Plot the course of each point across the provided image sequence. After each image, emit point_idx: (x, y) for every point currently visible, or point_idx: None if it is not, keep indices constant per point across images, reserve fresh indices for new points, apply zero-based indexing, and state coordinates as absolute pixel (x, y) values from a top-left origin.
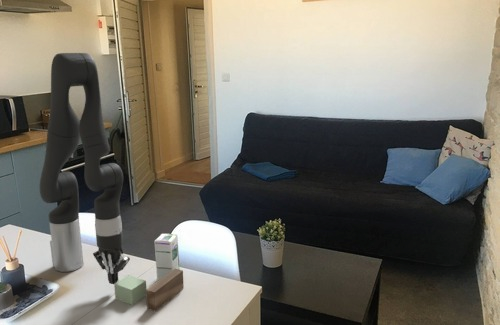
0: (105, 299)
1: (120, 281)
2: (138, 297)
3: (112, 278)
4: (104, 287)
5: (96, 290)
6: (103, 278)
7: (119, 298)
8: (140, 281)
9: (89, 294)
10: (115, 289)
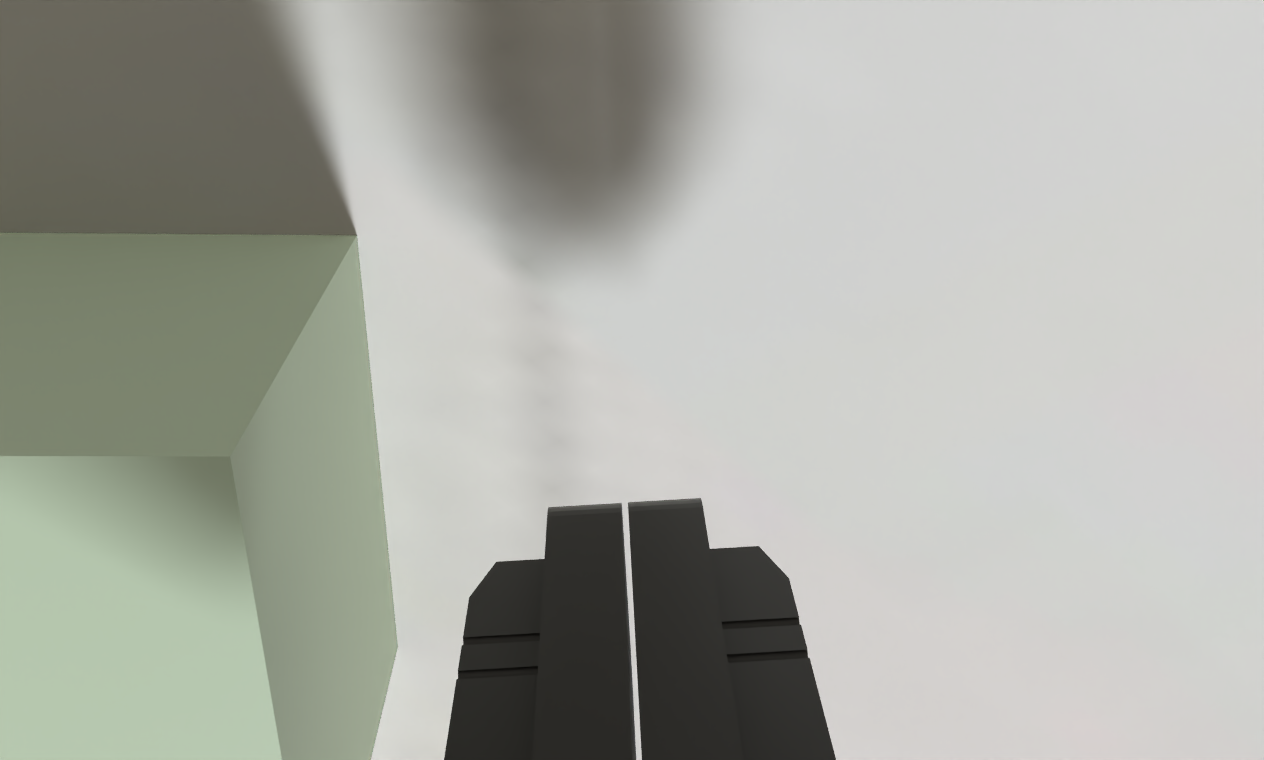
0: (535, 63)
1: (183, 650)
2: None
3: (537, 643)
4: (984, 444)
5: (1083, 262)
6: (1260, 672)
7: (183, 246)
8: None
9: (1137, 28)
10: (251, 350)
